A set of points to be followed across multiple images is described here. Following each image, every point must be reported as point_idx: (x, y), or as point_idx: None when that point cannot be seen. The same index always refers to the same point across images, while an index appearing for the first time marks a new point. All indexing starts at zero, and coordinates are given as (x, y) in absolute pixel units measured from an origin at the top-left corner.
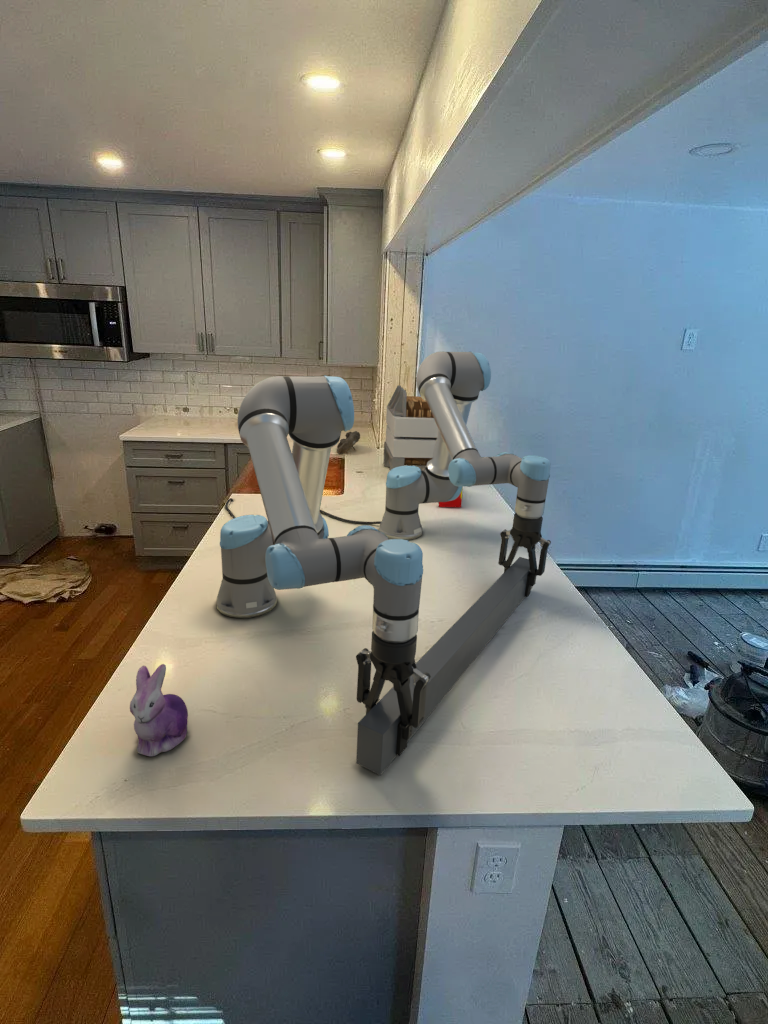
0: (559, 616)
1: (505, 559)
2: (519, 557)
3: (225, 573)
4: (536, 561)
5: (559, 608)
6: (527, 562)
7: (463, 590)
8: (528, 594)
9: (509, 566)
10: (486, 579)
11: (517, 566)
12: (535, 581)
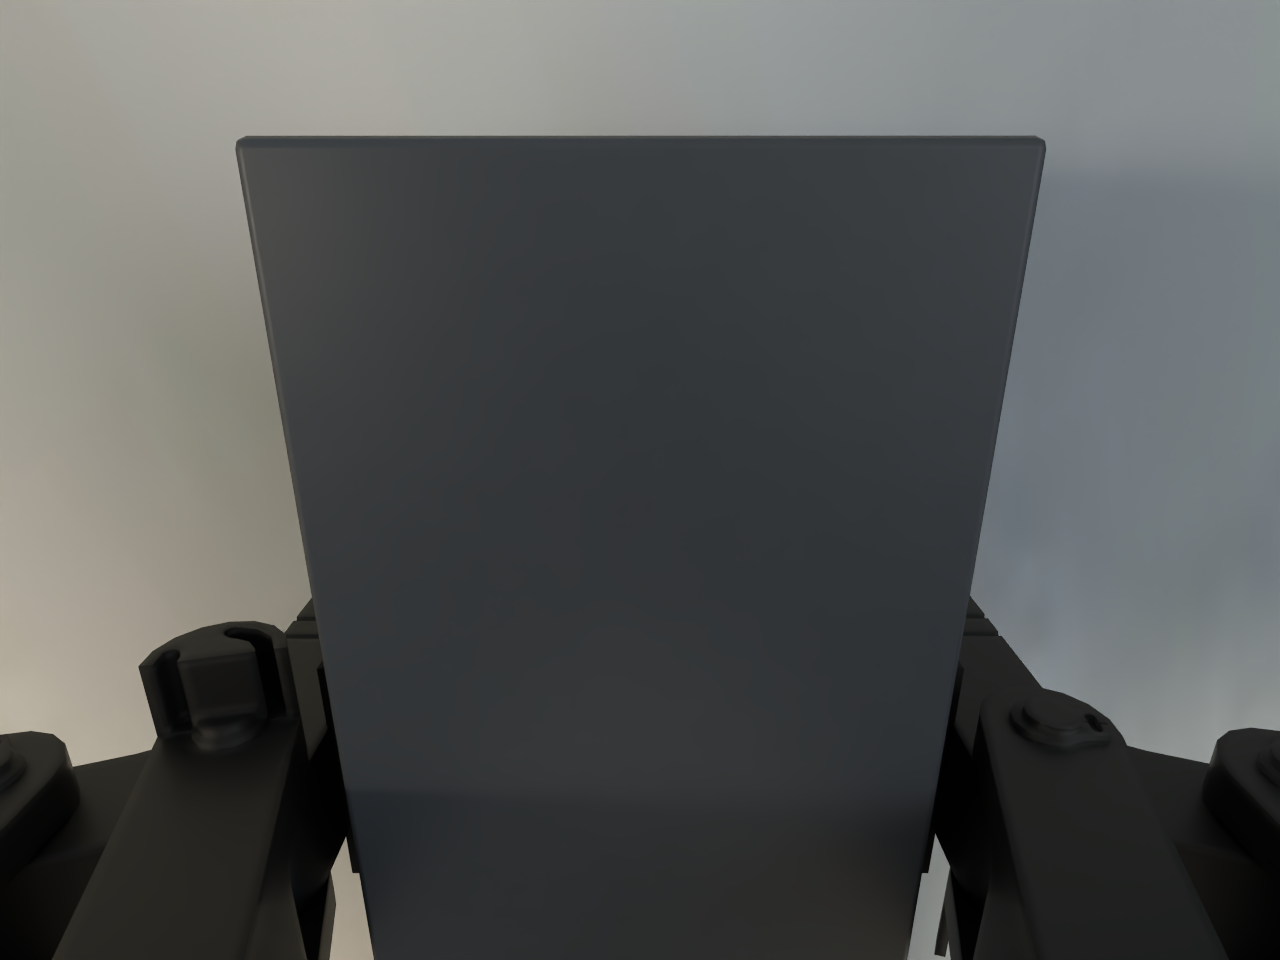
0: (1242, 665)
1: (18, 824)
2: (265, 233)
3: None
4: (1043, 154)
5: (1243, 477)
6: (728, 519)
7: (30, 717)
8: None
9: (321, 835)
10: (18, 227)
11: (551, 950)
12: (983, 631)
